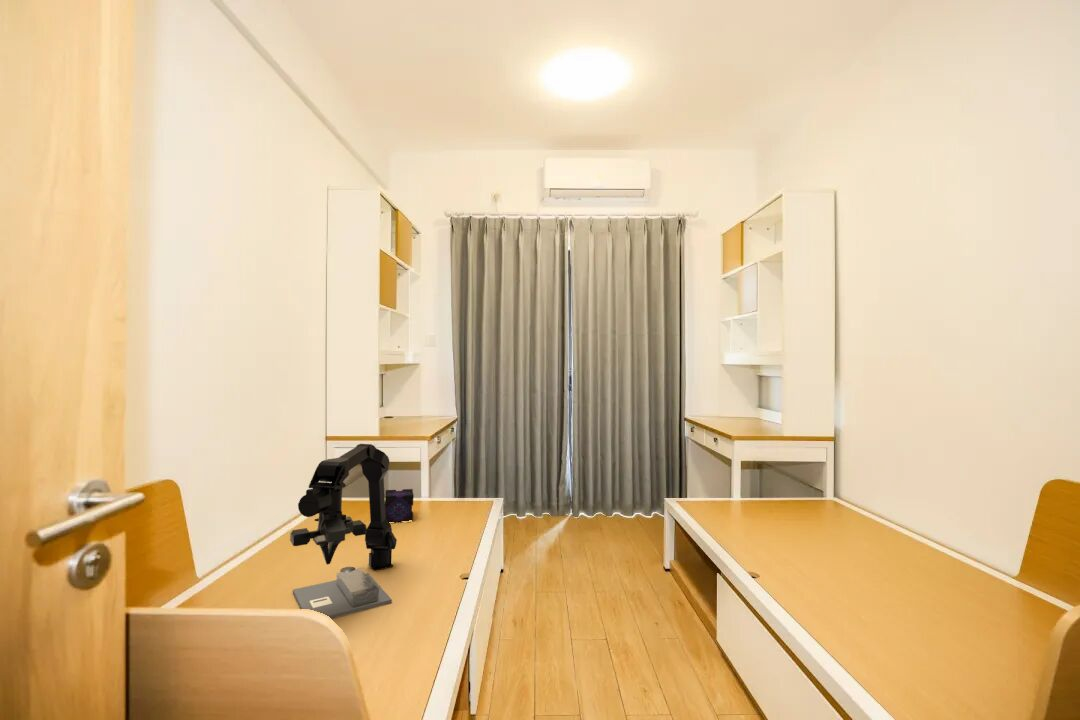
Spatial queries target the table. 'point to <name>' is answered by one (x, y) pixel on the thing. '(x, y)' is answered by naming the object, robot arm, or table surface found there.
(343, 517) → the figurine character
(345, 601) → the label board
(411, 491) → the energy cube
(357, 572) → the grey long block
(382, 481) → the robot arm
